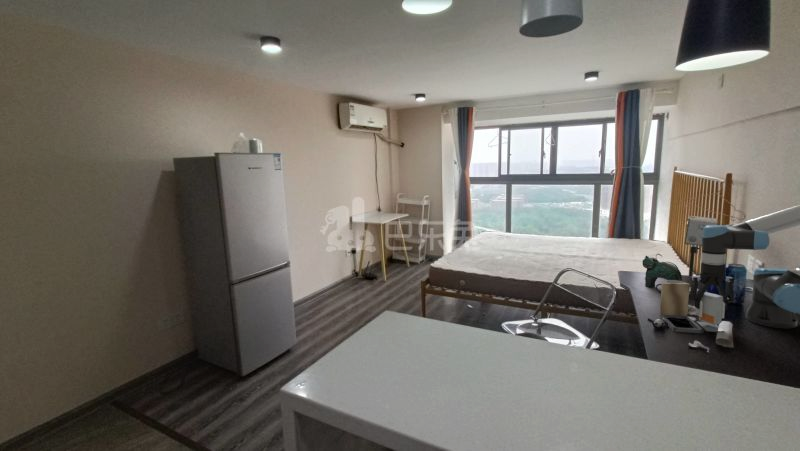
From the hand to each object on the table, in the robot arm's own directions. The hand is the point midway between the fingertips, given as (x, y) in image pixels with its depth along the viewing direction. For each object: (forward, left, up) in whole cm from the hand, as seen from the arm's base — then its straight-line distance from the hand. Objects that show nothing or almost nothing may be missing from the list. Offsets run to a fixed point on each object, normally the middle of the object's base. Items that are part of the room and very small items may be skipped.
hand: (710, 316), depth 147 cm
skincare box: (0, 0, -3) cm, 3 cm away
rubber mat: (0, 0, -5) cm, 5 cm away
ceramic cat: (+1, -50, -5) cm, 51 cm away
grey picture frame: (+10, 0, -5) cm, 11 cm away
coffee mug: (+3, -31, -5) cm, 32 cm away
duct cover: (+10, -7, +4) cm, 13 cm away
